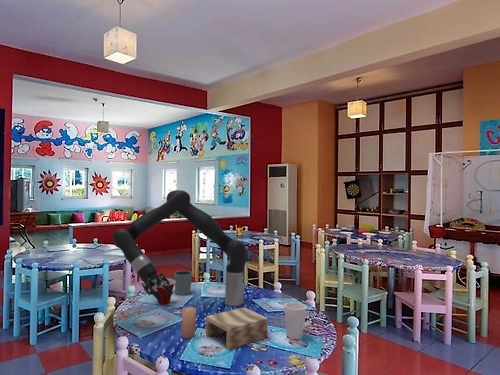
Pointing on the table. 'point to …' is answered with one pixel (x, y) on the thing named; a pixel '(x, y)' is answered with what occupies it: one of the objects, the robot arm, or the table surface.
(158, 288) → the plastic cup
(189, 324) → the tan dome-topped peg
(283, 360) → the table surface
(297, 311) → the foam cup
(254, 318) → the wooden stand
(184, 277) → the drinking glass
